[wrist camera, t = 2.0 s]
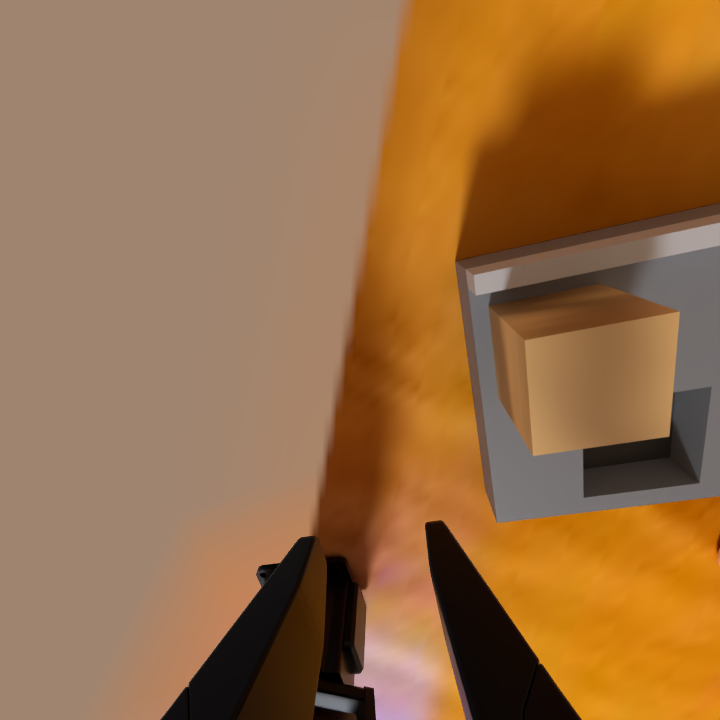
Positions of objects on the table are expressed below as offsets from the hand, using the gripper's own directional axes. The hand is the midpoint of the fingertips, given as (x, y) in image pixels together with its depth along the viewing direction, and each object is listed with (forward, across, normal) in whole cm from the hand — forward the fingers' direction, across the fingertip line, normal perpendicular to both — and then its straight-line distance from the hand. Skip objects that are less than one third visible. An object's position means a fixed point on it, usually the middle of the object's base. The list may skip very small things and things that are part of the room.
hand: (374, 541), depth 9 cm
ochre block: (+10, -8, 0) cm, 12 cm away
